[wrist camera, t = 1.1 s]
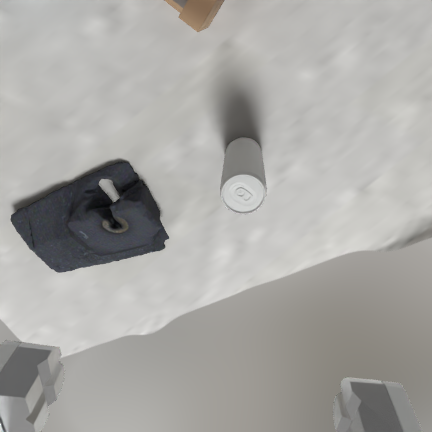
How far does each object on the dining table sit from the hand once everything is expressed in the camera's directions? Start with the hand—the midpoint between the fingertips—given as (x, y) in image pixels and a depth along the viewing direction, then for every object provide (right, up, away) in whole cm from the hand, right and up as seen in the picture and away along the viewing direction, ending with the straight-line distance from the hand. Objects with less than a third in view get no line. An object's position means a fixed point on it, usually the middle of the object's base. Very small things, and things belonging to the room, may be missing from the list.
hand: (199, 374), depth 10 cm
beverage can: (+4, +13, +37) cm, 39 cm away
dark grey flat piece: (-18, +4, +44) cm, 48 cm away
